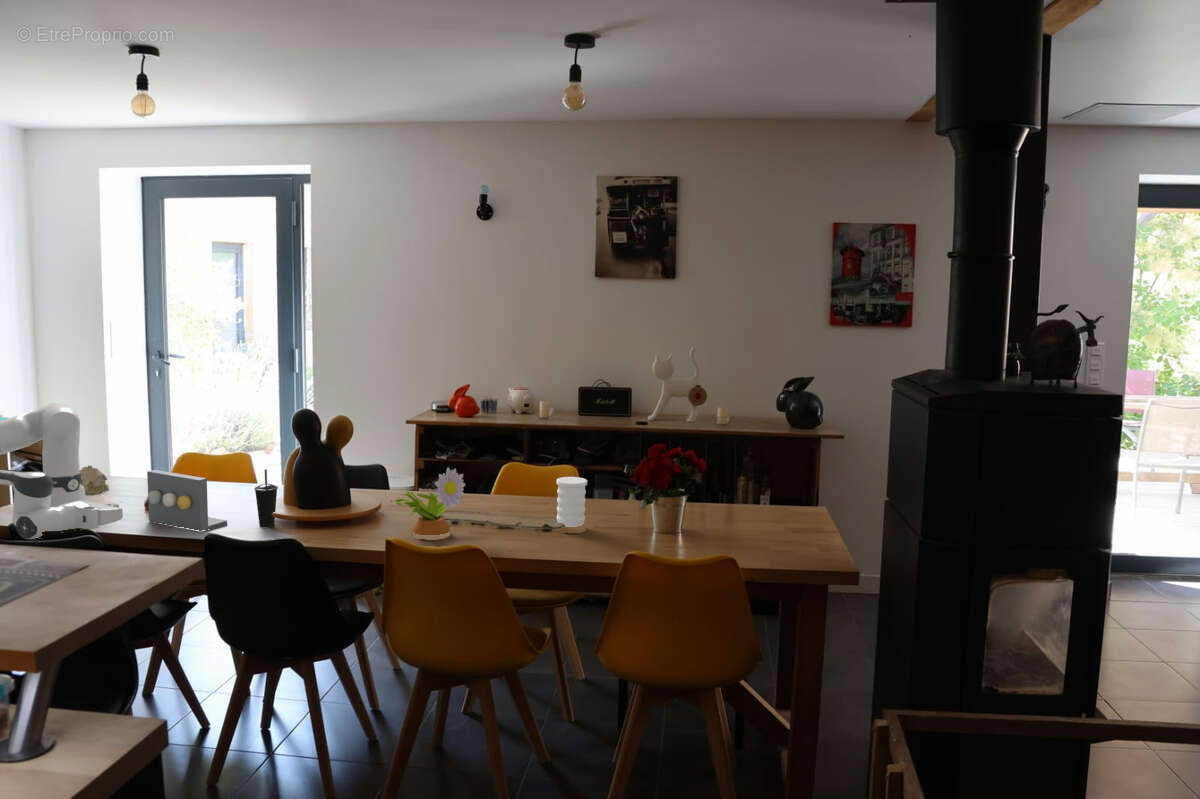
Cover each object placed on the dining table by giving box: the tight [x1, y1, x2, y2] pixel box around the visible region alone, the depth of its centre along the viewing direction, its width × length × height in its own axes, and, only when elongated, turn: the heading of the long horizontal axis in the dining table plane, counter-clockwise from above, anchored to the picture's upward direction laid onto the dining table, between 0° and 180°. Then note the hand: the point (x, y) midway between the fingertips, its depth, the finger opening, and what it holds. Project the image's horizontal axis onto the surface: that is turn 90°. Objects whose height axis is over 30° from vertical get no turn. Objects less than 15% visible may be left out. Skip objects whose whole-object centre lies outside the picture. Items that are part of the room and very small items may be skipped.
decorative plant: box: [390, 467, 466, 535], centre depth 300 cm, size 27×24×25 cm
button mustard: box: [177, 495, 192, 509], centre depth 294 cm, size 4×2×4 cm, turn 66°
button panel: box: [146, 469, 228, 531], centre depth 303 cm, size 25×11×18 cm, turn 65°
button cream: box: [163, 493, 177, 507], centre depth 297 cm, size 4×2×4 cm, turn 66°
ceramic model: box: [80, 465, 110, 495], centre depth 345 cm, size 14×11×10 cm
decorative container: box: [556, 476, 588, 527], centre depth 311 cm, size 12×12×18 cm
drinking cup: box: [253, 468, 279, 528], centre depth 303 cm, size 8×8×20 cm
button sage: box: [147, 490, 162, 504], centre depth 300 cm, size 4×2×4 cm, turn 65°
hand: (115, 506), depth 287 cm, fingers closed
